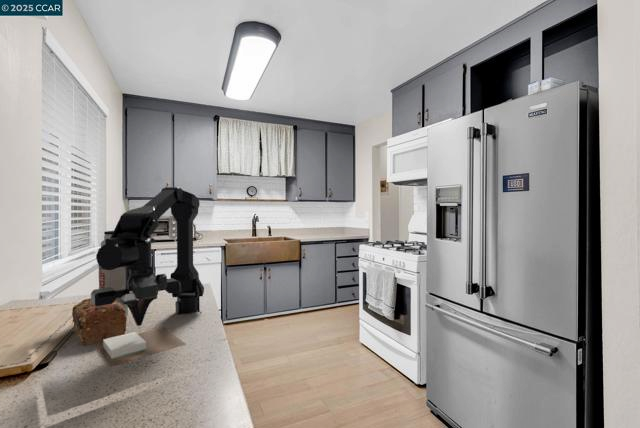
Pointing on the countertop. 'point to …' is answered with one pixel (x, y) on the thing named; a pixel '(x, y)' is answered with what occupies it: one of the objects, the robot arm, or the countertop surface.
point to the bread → (98, 321)
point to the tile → (124, 345)
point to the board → (147, 345)
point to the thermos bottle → (112, 275)
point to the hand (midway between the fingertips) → (138, 325)
